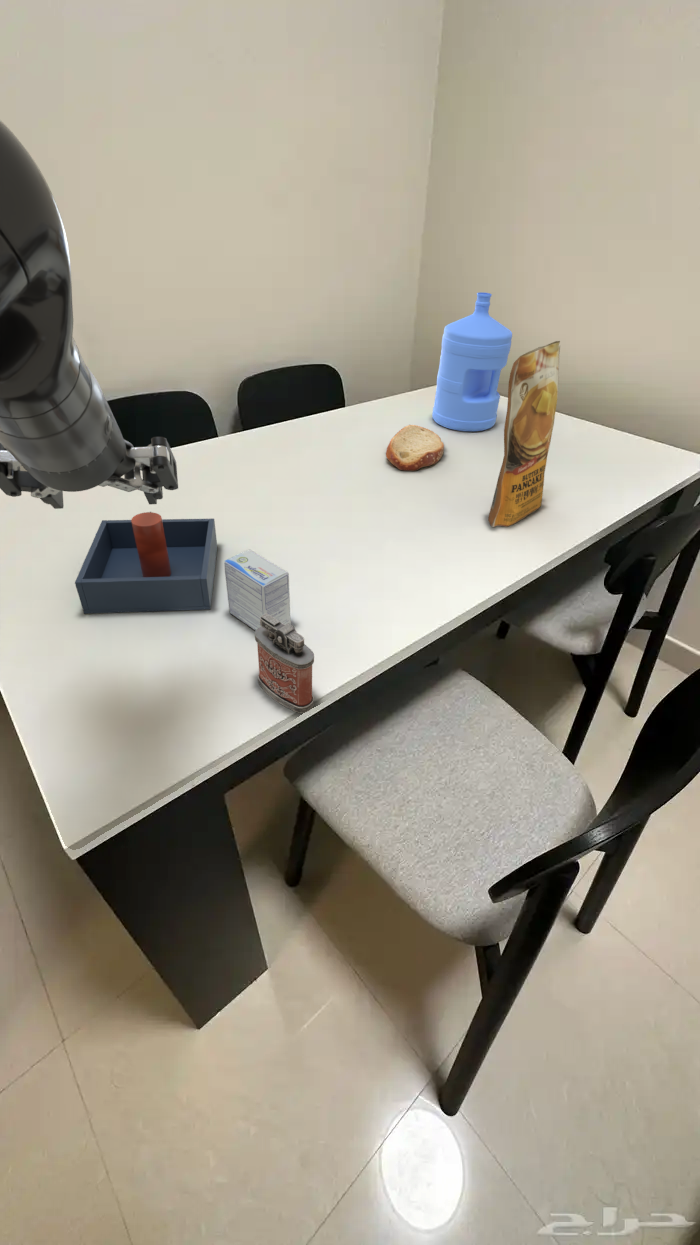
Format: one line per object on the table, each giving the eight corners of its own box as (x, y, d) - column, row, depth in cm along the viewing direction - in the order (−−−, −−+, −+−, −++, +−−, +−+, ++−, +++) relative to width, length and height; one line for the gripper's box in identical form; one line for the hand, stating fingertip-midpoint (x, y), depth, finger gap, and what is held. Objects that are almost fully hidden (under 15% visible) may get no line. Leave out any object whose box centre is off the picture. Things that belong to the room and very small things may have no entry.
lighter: (320, 702, 67) (321, 635, 61) (299, 718, 65) (298, 650, 59) (272, 668, 71) (269, 603, 65) (251, 682, 69) (246, 616, 63)
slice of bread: (419, 431, 137) (421, 415, 135) (469, 459, 125) (472, 442, 123) (355, 443, 129) (356, 427, 127) (402, 474, 118) (404, 456, 115)
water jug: (419, 420, 143) (434, 291, 126) (453, 406, 153) (472, 285, 135) (474, 438, 136) (498, 303, 118) (506, 422, 145) (533, 295, 128)
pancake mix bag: (466, 521, 103) (498, 352, 86) (521, 490, 114) (559, 335, 97) (499, 535, 100) (539, 362, 82) (552, 502, 111) (597, 343, 93)
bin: (83, 613, 78) (74, 582, 74) (109, 549, 90) (101, 520, 87) (210, 609, 80) (206, 578, 76) (217, 546, 93) (214, 518, 89)
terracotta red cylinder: (140, 582, 83) (128, 526, 77) (145, 566, 86) (133, 512, 80) (169, 581, 83) (159, 525, 78) (172, 566, 87) (163, 511, 81)
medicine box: (291, 625, 78) (290, 571, 72) (266, 640, 75) (263, 585, 70) (253, 600, 82) (250, 547, 76) (228, 613, 79) (222, 559, 74)
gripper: (157, 367, 42) (179, 457, 58) (-63, 367, 39) (24, 461, 55) (164, 467, 41) (185, 530, 57) (-59, 474, 38) (28, 539, 54)
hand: (106, 496), depth 56 cm, fingers open, 8 cm apart
